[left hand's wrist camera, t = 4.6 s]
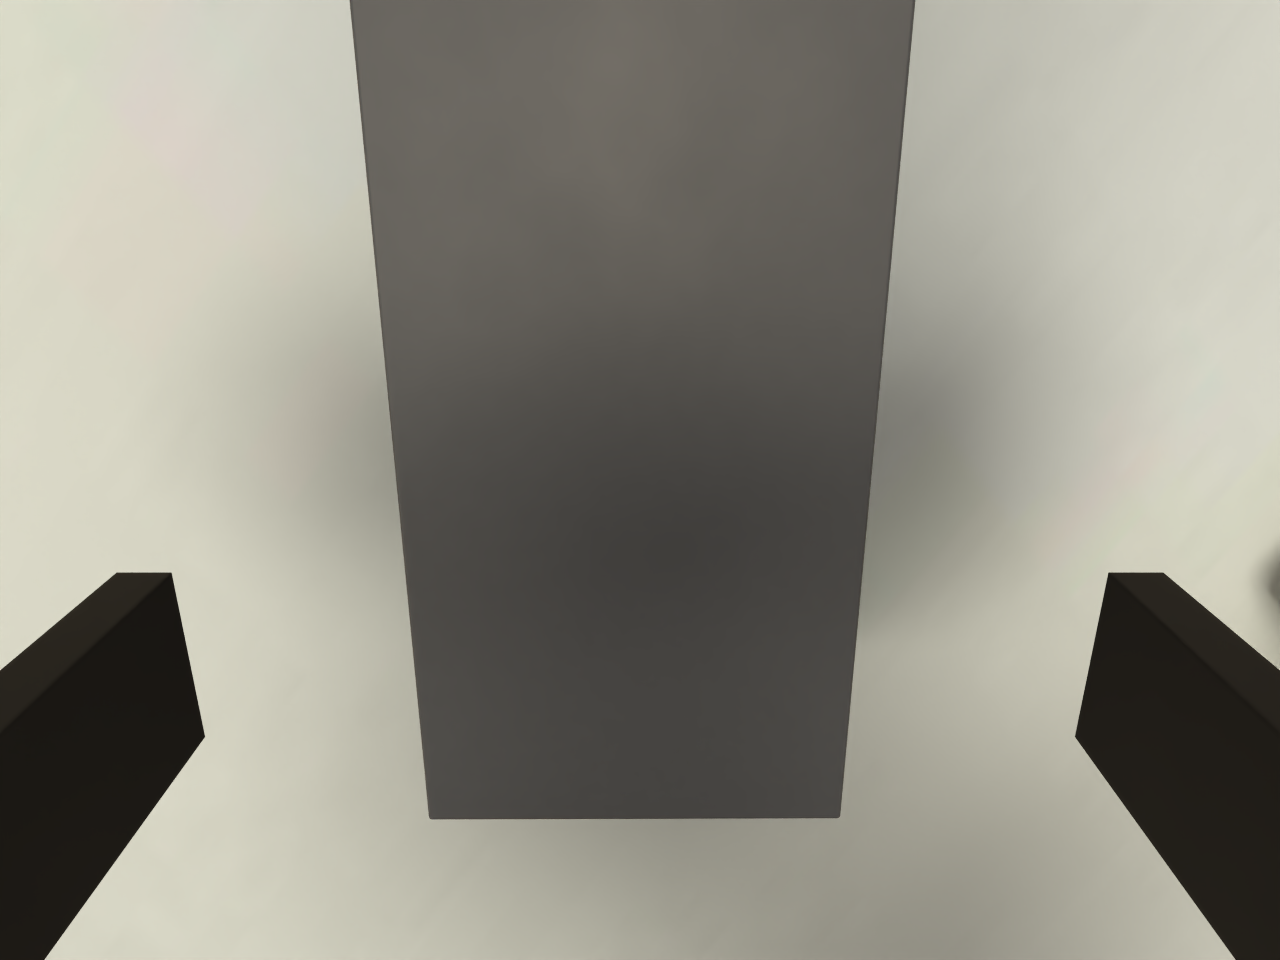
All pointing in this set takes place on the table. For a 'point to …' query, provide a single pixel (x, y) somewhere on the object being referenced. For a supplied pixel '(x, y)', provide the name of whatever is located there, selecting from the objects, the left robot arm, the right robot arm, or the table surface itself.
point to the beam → (633, 387)
